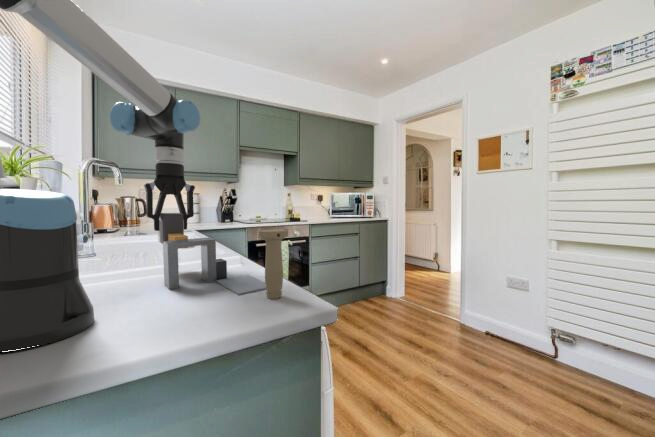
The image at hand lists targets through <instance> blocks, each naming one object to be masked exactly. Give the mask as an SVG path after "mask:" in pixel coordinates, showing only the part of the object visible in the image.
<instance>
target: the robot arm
mask: <svg viewBox="0 0 655 437" xmlns="http://www.w3.org/2000/svg"><path fill="white" fill-rule="evenodd" d="M0 9H1V10H2V11H4V12H10V13H15V14H18V15H19V16H21V18H23V19H24V20H25V21H26V22H28V23H29V24H31V25H32V26H33V27H35V28H36V30H38V31H40V32H41V33H42V34H43V35H45V37H47V38H49V39H50V40H51V41H53V42H54V43H55V45H58V47H60V48H61V49H63V50H64V51H65V52H66V53H67V54H69V55H70V56H71V57H73V58H74V59H75V60H77V61H78V62H79V63H80V64H82V65H83V66H84V67H85V68H87V69H88V70H90V71H91V72H92V73H93V74H94V75H96V76H97V77H98V78H99V79H101V80H102V81H103V82H104V83H106V84H107V85H108V86H109V87H110V88H112V89H113V90H115V91H116V92H118V93H119V94H120V95H121V96H122V97H124V98H125V99H126V100H128V102H130V103H127V102H123V101H118V102H116V103H115V104H113V106H112V107H111V109H110V112H109V122H110V124H111V127H112V128H113V129H114V130H115V131H117V132H119V133H121V134H125V135H127V136H134V137H139V138H144V139H149V140H152V141H154V150H155V154H154V155H155V157H154V159H155V162H156V163H155V178H154V181H153V182H149V183H148V182H147V183H144V184H143V187H144V190H145V196H146V198H145V200H146V201H145V203H146V204H145V206H146V208H145V209H146V211H145V212H146V214H145V215H146V218H149V219H152V220H153V230H154V231H155V232H157V242H158V243H161V242H163V220H160V215H161V213H163V212H162V211H163V207H164V203H165V200H166V198H167V196H168V195H172V196H174V198H175V201H176V204H177V208H178V211H179V212H178V213H182V214H183V235H185V230H188V219H190V218H193V217H194V215H195V214H194V212H195V211H194V191H195V189H196V186H195V185H193V184H192V185H191V184H188V183H187V182H186V181H185V180H186V179H185V166H184V165H183V164H184V161H185V159H184V156H185V154H184V140H185V139H184V138H185V137H184V136H185V134H184V133H190V132H194V131H196V130H197V129H198V128H199V126H200V123H201V114H200V111H199V108H198V106H196V104H195V103H194V102H192V101H191V100H189V99H183V98H182V99H177V98H176V97H175V96H174V95H173V94H172V93H171V92H170V91H169V90H168V89H167V88H166V87H164V86H163V85H162V83H160V82H159V81H158V80H157V79H156V78H155V77H154V76H153V75H152V74H150V72H148V70H147V69H145V68H144V67H143V66H142V65H141V64H140V62H138V61H137V60H136V58H134V57H133V56H132V55H131V54H130V53H129V52H127V50H125V49H124V48H123V47H122V46H121V45H120V44H119V43H118V42H117V41H116V40H115V39H114V38H112V36H110V34H108V33H107V31H105V29H103V28H102V27H101V25H99V24H98V23H97V22H95V20H93V19H92V17H90V16H89V15H88V13H86V12H85V11H84V10H83V8H81V7H79V5H78V4H76V2H74V0H0ZM155 187H156V188H157V189H158V191H159V193H158V200H157V202H156V203H157V204H156V206H155V211H154V210H153V209H154V206H153V205H154V204H153V203H154V201H153V200H154V199H153V198H154V196H153V194H154V193H153V191H154V190H155ZM184 188H185V191H186V207H185V205H184V204H185V203H184V201H183V195H182V193H181V192H182V191H183V189H184ZM77 220H78V215H77V212H76V205H75V203H74V199H73V198H72V197H71V196H69V195H67V194H64V193H62V192H55V191H49V190H37V189H23V188H22V189H21V186H20V184H19V182H16V181H15V180H13V179H11V178H10V177H8V176H7V175H6V173H5V169H4V165H3V162H2V156H0V352H2V351H8V350H16V349H21V348H27V347H32V346H37V345H42V346H44V345H43V344H45V345H48V344H47V343H49V344H52V343H55V342H57V341H58V342H59V341H60V340H64V339H66V338H69V337H72V336H74V335H76V334H78V333H80V332H83V331H84V330H86V329H87V328H89V327H90V326H91V325H92V324H93V323H94V321H95V312H94V311H95V310H94V306H93V304H92V302H91V300H90V298H89V296H88V293H87V292H86V290H85V287H84V286H83V284H82V282H81V280H80V279H81V278H80V273H79V272H80V271H79V251H78V234H77V232H78V230H77V227H78V226H77Z"/></svg>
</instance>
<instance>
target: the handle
mask: <svg viewBox="0 0 655 437" xmlns="http://www.w3.org/2000/svg"><path fill="white" fill-rule="evenodd" d="M288 236H289V230H288V229H286V228H274V229H260V230H258V237H259V238H260V239H262V240H264V241H265V259H264V260H265V261H264V262H265V263H264V264H265V265H264V279H265V281H264V282H265V283H266V289H265V290H266V294H265V295H266V297H267V299H271V300H273V299H274V300H277V299H279V298H281V297H282V295H283V290H282V289H283V284H284V283H283V282H284V268H283V267H284V266H283V264H284V263H283V253H282V252H283V251H282V241H283V239H285V238H287V237H288Z"/></svg>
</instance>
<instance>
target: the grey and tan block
mask: <svg viewBox="0 0 655 437" xmlns="http://www.w3.org/2000/svg"><path fill="white" fill-rule="evenodd" d="M159 220H163V241H172V240H184V239H189V236H188V235H186V234H184V235H183V214H182V213H180V212H161V215H160V219H159ZM160 243H161V245H163V242H160ZM188 248H189V247H179V248H178V250H179V249H188Z"/></svg>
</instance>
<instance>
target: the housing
mask: <svg viewBox="0 0 655 437" xmlns="http://www.w3.org/2000/svg"><path fill="white" fill-rule="evenodd" d="M216 242H217V241H216V238H212V237H201V238H188V239H184V240H172V241H163V244H162V253H163V254H162V256H163V258H162V259H163V278H164V279H163V280H164V282H163V284H164V286H165V287H166V288H167V289H168V290H169V291H170V290H175V289H179V288H180V278H179V277H180V275H179V251H178V250H179V249H178V248H179V247H188V248H189V247H197V246H200V254H201V256H200V258H201V260H200V261H201V263H200V264H201V280H203V281H205V282H207V283H214V282H216V280H221V279H227V278H228V270H227V269H228V267H227V266H228V265H227V263H228V262H227V260H225V259H223V258H217V249H216V248H217V247H216V246H217V244H216Z"/></svg>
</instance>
